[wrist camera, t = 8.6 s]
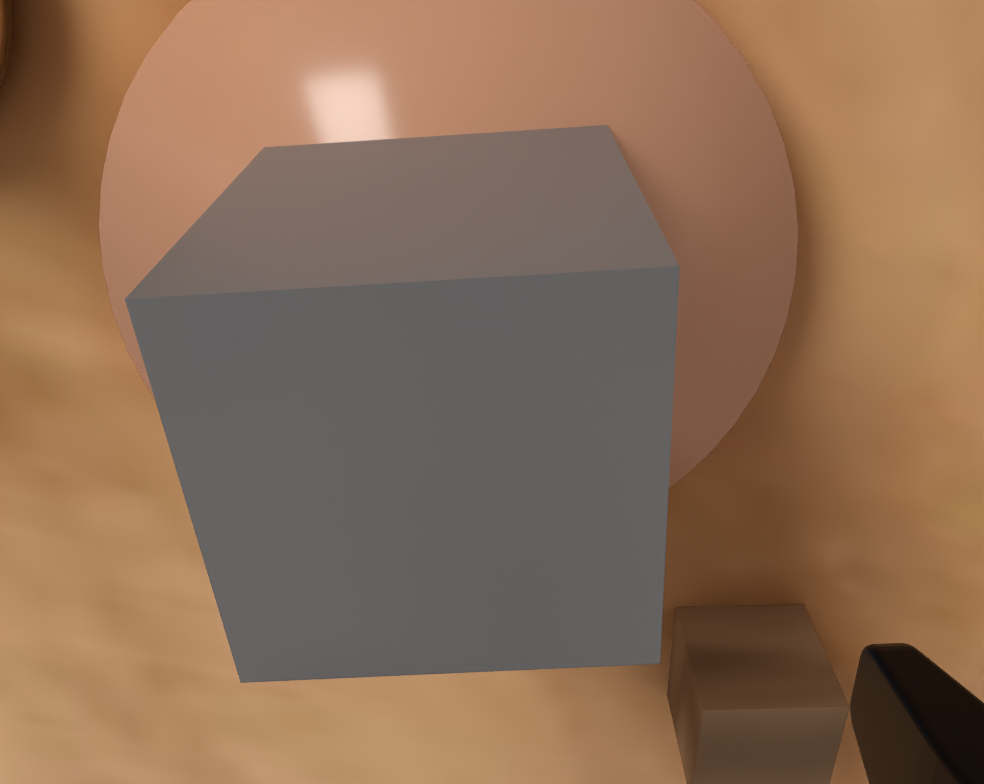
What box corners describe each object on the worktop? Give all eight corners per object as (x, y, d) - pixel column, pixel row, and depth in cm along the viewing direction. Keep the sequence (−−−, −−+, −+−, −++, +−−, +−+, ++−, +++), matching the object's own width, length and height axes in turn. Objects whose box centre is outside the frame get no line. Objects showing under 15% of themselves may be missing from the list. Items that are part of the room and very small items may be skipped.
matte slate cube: (605, 419, 19) (659, 663, 13) (319, 434, 19) (240, 682, 13) (607, 124, 16) (679, 266, 10) (264, 146, 16) (124, 298, 10)
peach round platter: (749, 512, 22) (762, 543, 21) (206, 538, 22) (192, 570, 21) (821, -129, 15) (847, -131, 14) (28, -74, 15) (-7, -72, 14)
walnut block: (785, 689, 25) (825, 798, 22) (666, 692, 25) (691, 801, 22) (803, 602, 23) (849, 706, 20) (675, 605, 24) (702, 710, 20)
